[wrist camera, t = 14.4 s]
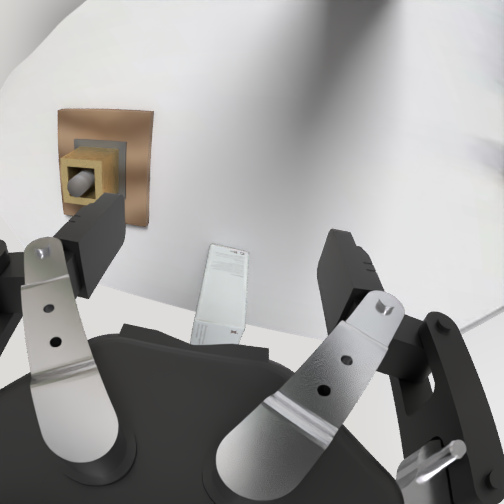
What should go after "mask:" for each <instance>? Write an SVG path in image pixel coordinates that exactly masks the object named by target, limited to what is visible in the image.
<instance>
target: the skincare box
mask: <svg viewBox="0 0 504 504" xmlns="http://www.w3.org/2000/svg"><path fill="white" fill-rule="evenodd" d="M248 262H249V252H246V251H242V250H237V249H232V248H228V247H225V246H220V245H216V244H211V245H210V249H209V254H208V259H207V264H206V268H205V272H204V277H203V282H202V286H201V291H200V296H199V300H198V304H197V309H196V315H195V319H194V323H193V328H192V334H191V341H190V344H192V345H212V344H239V342H240V339H241V337H242V334H243V332H244V330H245V324H246V304H247V284H248Z"/></svg>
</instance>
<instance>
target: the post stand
mask: <svg viewBox="0 0 504 504" xmlns="http://www.w3.org/2000/svg"><path fill="white" fill-rule="evenodd" d="M153 115H154V111H141V110H121V109H61V110H58V151H59V169H60V182H61V193H62V202H63V211H64V214H66V215H73V216H74V215H75V214H76V213H77V212H78V211H79V210H80V209H81V208H82V207H84V206H86V205H80V204H73V203H65V202H64V197H63V187H62V175H61V160H60V158H62V157H63V156H65V155H66V154H68V153H70V152H71V151H73V150H75V149H76V148H78V147H80V146H82V147H98V148H112V149H119V192H118V193H117V194H122V195H123V196H124V200H125V224H131V225H138V226H144V227H146V226H147V225H148V223H149V182H150V159H151V142H152V128H153ZM94 184H95V171H94V169H93V168H85V169H84V170H82V171H81V172H80V173H78V174H77V175H76V176H74V177H73V178H72V179H70V180H69V181H68V184H67V189H68V191H69V193H70V194H71V195H72V196H74V197H80V196H81V195H82V194H83V193H85V192H86V191H87V190H88V189H89V188H90V187H91V186H93V185H94Z"/></svg>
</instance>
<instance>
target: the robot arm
mask: <svg viewBox="0 0 504 504" xmlns="http://www.w3.org/2000/svg"><path fill="white" fill-rule="evenodd" d="M125 232H126V228H125V200H124V196H123V195H122V194H114V193H106V192H105V193H103V194H102V195H101V196H100V197H99V198H98V199H97V200H96V201H95V202H94V203H90V204H88V205H86V206H84V207H82V208H81V209H80V210H79V211H78V212H77V213H76V214H75V215H74V216H73V217H72V218H71V219H70V220H69V222H67V223H66V224H65V225H64V226H63V227H62V228H61V229H60V230H59V231H58V232H57V233H56V234H55V235H54V236H53V237H43V238H39V239H36V240H34V241H32V242H31V243H30V244H28V245H27V247H26V248H25V250H24V252H15V253H8V250H7V246H6V243H5V242H4V241H3V240H0V356H1V354H2V352H3V350H4V348H5V346H6V345H7V343H8V341H9V339H10V337H11V335H12V334H13V332H14V330H15V328H16V327H17V325H18V323H19V322H20V320H21V318H22V316H23V321H24V331H25V339H26V346H27V353H28V359H29V365H30V371H31V372H30V373H28V374H26V375H25V376H23V377H21V378H19V379H17V380H16V381H14V382H12V383H10V384H9V385H7V386H5V387H4V388H2V389H0V504H498V503H500V502H501V501H502V500H503V499H504V454H503V450H502V447H501V443H500V440H499V436H498V432H497V429H496V425H495V422H494V419H493V416H492V413H491V410H490V407H489V404H488V401H487V398H486V395H485V392H484V390H483V387H482V384H481V382H480V379H479V377H478V374H477V372H476V369H475V366H474V364H473V361H472V359H471V356H470V354H469V352H468V349H467V347H466V345H465V342H464V340H463V338H462V336H461V333H460V331H459V329H458V327H457V325H456V324H455V323H454V321H453V320H452V319H451V318H449V317H448V316H446V315H445V314H442V313H440V312H430V313H428V315H427V316H426V318H425V319H424V321H421V320H418V319H416V318H413V317H410V316H408V315H405V310H404V307H403V305H402V304H401V302H400V301H399V300H398V299H397V298H396V297H394V296H393V295H391V294H389V293H387V292H385V291H384V289H383V287H382V284H381V282H380V280H379V277H378V275H377V273H376V272H375V271H376V270H375V268H374V266H373V265H372V261H371V259H370V257H369V255H368V254H367V253H366V252H365V251H364V250H363V249H362V248H361V247H359V246H356V244H355V241H354V239H353V237H352V235H351V233H350V232H347V231H342V230H336V229H331V230H330V231H329V233H328V236H327V239H326V242H325V245H324V248H323V251H322V254H321V257H320V260H319V263H318V268H317V280H318V285H319V290H320V295H321V300H322V305H323V310H324V316H325V321H326V327H327V332H328V337H327V338H326V339H325V340H324V341H323V343H322V344H321V345H320V346H319V347H318V348H317V349H316V350H315V352H314V353H313V354H312V355H311V356H310V357H309V358H308V359H307V360H306V362H305V363H304V364H303V365H302V366H301V367H300V368H299V369H298V370H297V371H296V372H295V373H294V372H293V371H291V370H290V369H288V368H286V367H285V366H283V365H281V364H279V363H277V362H274V361H272V360H269V349H268V348H261V347H253V346H246V345H239V344H212V345H192V344H189V343H186V342H184V341H181V340H179V339H176V338H174V337H172V336H169V335H167V334H164V333H162V332H159V331H157V330H152V329H147V328H143V327H138V326H133V325H129V324H123V327H122V329H121V331H120V334H107V335H102V336H98V337H94V338H91V339H89V340H87V338H86V335H85V331H84V328H83V325H82V322H81V318H80V315H79V312H78V308H77V304H76V301H75V299H76V297H77V296H78V297H83V298H86V299H89V298H90V296H91V294H92V293H93V291H94V289H95V288H96V286H97V284H98V283H99V281H100V279H101V278H102V276H103V274H104V273H105V271H106V270H107V268H108V266H109V265H110V263H111V262H112V260H113V259H114V257H115V256H116V254H117V252H118V251H119V249H120V248H121V246H122V245H123V242H124V239H125ZM375 371H378V372H381V373H384V374H387V375H389V377H390V382H391V386H392V391H393V396H394V402H395V406H396V412H397V418H398V423H399V430H400V436H401V442H402V449H403V455H404V460H403V461H402V462H401V464H400V465H399V467H398V470H397V478H396V480H395V479H394V478H393V477H392V476H391V475H390V473H389V472H387V470H386V469H385V468H384V467H383V466H381V464H380V463H379V462H378V461H377V460H376V459H375V458H374V457H373V456H372V455H371V454H370V453H369V452H368V451H367V450H366V449H365V448H364V447H363V445H362V444H361V443H360V442H359V441H358V440H357V439H356V438H355V437H354V436H353V435H352V434H351V433H350V432H349V430H348V429H347V428H346V427H345V426H344V425H343V422H344V421H345V419H346V418H347V416H348V415H349V413H350V412H351V410H352V409H353V407H354V406H355V404H356V403H357V401H358V399H359V398H360V396H361V395H362V393H363V391H364V390H365V388H366V387H367V385H368V383H369V382H370V380H371V378H372V377H373V375H374V373H375ZM431 372H432V375H433V378H434V382H435V389H434V392H432V389H431V385H430V382H429V379H428V376H429V374H430V373H431Z"/></svg>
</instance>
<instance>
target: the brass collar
mask: <svg viewBox="0 0 504 504" xmlns="http://www.w3.org/2000/svg"><path fill="white" fill-rule="evenodd" d="M60 160H61V175H62V187H63V197H64V202H65V203H73V204H80V205H88V204H90V203H94V202H95V201H96V200H97V199H98V198H99V197H100V196H101V195H102V194H103V193H105V192H106V193H114V194H117V193H118V192H119V149H112V148H98V147H82V146H80V147H78V148H76V149H75V150H73V151H71V152H70V153H68V154H66V155H65V156H63V157H62V158H60ZM85 168H93V169H94V171H95V184H94V185H93V186H91V187H90V188H89V189H88V190H87V191H86V192H85V193H83V194H82V195H81V196H80V197H74V196H72V195H71V194H70V193H69V191H68V189H67V184H68V181H69V180H70V179H72V178H73V177H74V176H76V175H77V174H78V173H80V172H81V171H82V170H84V169H85Z"/></svg>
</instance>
